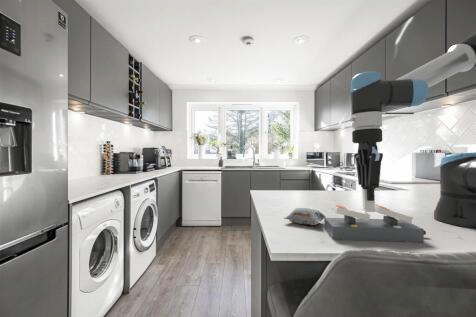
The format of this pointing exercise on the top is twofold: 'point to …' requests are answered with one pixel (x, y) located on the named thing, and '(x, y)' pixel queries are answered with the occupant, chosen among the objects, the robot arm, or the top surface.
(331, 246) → the top surface
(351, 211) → the white switch paddle
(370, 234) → the rocker switch box
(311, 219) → the packaged food
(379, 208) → the rocker white
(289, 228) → the top surface
